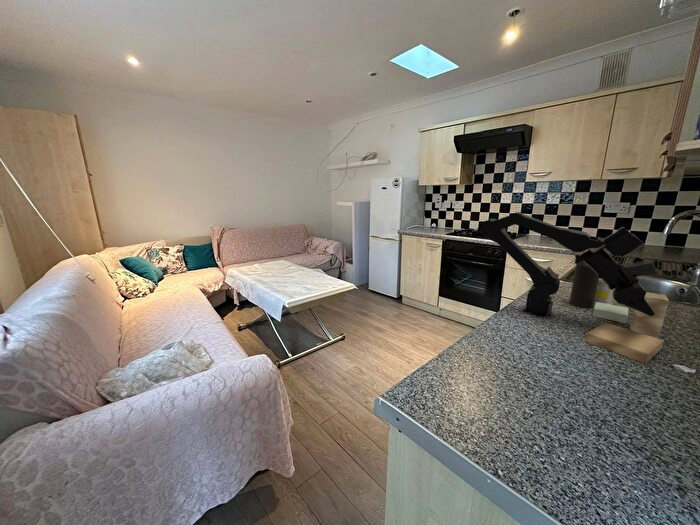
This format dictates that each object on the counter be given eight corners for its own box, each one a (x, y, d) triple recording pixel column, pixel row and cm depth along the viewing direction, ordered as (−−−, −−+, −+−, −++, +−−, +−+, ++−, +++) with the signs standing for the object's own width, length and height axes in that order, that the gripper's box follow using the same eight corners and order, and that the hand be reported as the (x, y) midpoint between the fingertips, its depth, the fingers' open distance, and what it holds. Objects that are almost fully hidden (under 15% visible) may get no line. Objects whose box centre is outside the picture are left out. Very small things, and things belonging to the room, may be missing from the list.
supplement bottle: (603, 299, 104) (610, 267, 101) (618, 306, 98) (626, 272, 95) (584, 299, 105) (590, 266, 102) (597, 306, 99) (605, 271, 95)
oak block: (584, 342, 76) (586, 333, 75) (602, 331, 82) (605, 322, 81) (645, 365, 66) (648, 354, 65) (661, 350, 72) (664, 340, 71)
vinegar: (574, 307, 98) (584, 252, 93) (565, 300, 104) (575, 248, 99) (597, 309, 96) (609, 253, 91) (587, 301, 102) (598, 249, 97)
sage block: (592, 316, 91) (594, 308, 90) (594, 309, 97) (596, 301, 96) (625, 324, 86) (628, 315, 85) (626, 316, 91) (628, 307, 90)
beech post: (632, 335, 78) (642, 296, 76) (629, 328, 82) (639, 291, 79) (657, 341, 75) (669, 300, 72) (653, 333, 79) (664, 294, 76)
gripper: (641, 255, 69) (697, 306, 65) (631, 244, 83) (676, 285, 79) (594, 279, 76) (642, 327, 72) (592, 265, 90) (632, 304, 86)
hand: (649, 309), depth 77 cm, fingers open, 9 cm apart
